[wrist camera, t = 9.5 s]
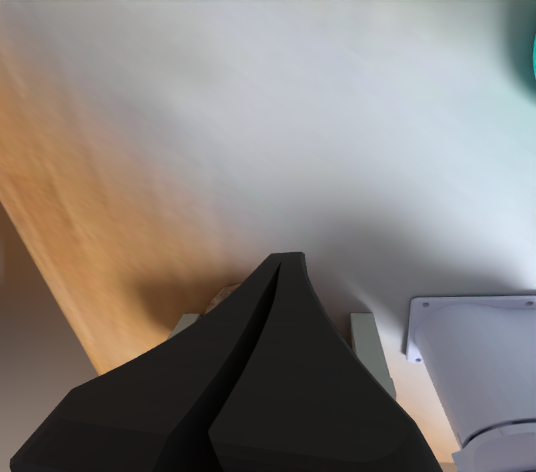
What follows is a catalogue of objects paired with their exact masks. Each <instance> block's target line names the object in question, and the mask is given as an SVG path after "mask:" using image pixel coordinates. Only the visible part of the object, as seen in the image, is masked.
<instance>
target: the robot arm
mask: <svg viewBox="0 0 536 472" xmlns="http://www.w3.org/2000/svg"><path fill="white" fill-rule="evenodd" d="M423 303H426V304H423ZM406 359H407V361H408V362H410V363H424V364H425V366H426V369H427V371H428V373H429V376H430V378H431V380H432V383H433V385H434V388H435V390H436V392H437V395H438V397H439V399H440V402H441V404H442V407H443V409H444V411H445V414H446V416H447V418H448V421H449V423H450V426H451V428H452V430H453V433H454V435H455V437H456V440H457V442H458V445H459V447H460V449H461V450H460V451H458V452H455V453H452V454H451V455H452V458H453V460H454V463H455V465H456V468H457V470H458V472H536V296H482V297H423V298H414V299H413V300H412V301H411V307H410V318H409V328H408V339H407V350H406ZM10 469H11V472H443V471H442V469H441V467H440V465H439V463H438V461H437V459H436V458H435V456H434V454H433V452H432V450H431V448H430V447H429V445H428V443H427V441H426V440H425V438H424V436H423V434H422V433H421V431H420V429H419V427H418V426H417V424H416V423H415V421H414V420H413V419H412V418H411V417H410V416H409V415H408V414H407V413H406V412H405V410H404V409H403V408H402V407H401V406H400V405H399V404H398V403H397V402H396V401H395V400H394V399H393V398H392V397H391V395H390V394H389V393H388V392H387V391H386V390H385V389H384V388H383V387H382V386H381V384H380V383H379V382H378V381H377V380H376V379H375V378H374V376H373V375H372V374H371V373H370V372H369V370H368V369H367V368H366V367H365V366H364V365H363V363H362V362H361V361H360V360H359V358H358V357H357V356H356V355H355V353H354V352H353V351H352V349H351V348H350V347H349V345H348V344H347V343H346V341H345V340H344V339H343V338H342V336H341V335H340V333H339V332H338V331H337V329H336V328H335V326H334V325H333V323H332V322H331V320H330V318H329V317H328V315H327V314H326V312H325V310H324V309H323V307H322V305H321V303H320V301H319V299H318V297H317V295H316V293H315V291H314V289H313V287H312V285H311V282H310V280H309V277H308V274H307V268H306V260H305V254H304V253H302V252H289V253H274V254H270V255H269V256H268V257H267V258H266V259H265V260H264V261H263V262H262V263H261V265H260V266H259V267H258V268H257V269H256V270H255V271H254V272H253V273H252V274H251V275H250V276H249V277H248V278H247V279H246V280H245V281H244V282H243V283H242V284H241V285H240V286H239V287H237V288H236V289H235V290H234V291H233V292H232V293H231V294H230V295H229V296H228V297H227V298H225V299H224V300H223V301H222V302H221V303H219V304H218V305H217V306H216V307H215V308H213V309H212V310H211V311H209V312H208V313H207V314H205V315H204V316H203V317H201V318H200V319H199V320H197V321H196V322H194V323H193V324H191V325H190V326H188V327H187V328H185V329H184V330H182V331H180V332H179V333H177V334H176V335H174V336H173V337H171V338H170V339H168V340H166V341H165V342H163V343H161V344H160V345H158V346H156V347H155V348H153V349H151V350H149V351H147V352H146V353H144V354H142V355H140V356H138V357H137V358H135V359H133V360H131V361H129V362H127V363H125V364H123V365H121V366H119V367H117V368H115V369H113V370H111V371H109V372H107V373H105V374H103V375H101V376H99V377H97V378H95V379H92V380H90V381H88V382H86V383H84V384H82V385H80V386H78V387H75V388H73V389H72V390H71V391H70V392H69V393H68V394H67V395H66V396H65V398H64V399H63V400H62V401H61V402H60V403H59V404H58V406H57V407H56V408H55V409H54V410H53V411H52V412H51V414H50V415H49V416H48V417H47V418H46V419H45V420H44V422H43V423H42V424H41V425H40V426H39V427H38V429H37V430H36V431H35V432H34V433H33V434H32V435H31V437H30V438H29V439H28V440H27V441H26V442H25V444H24V445H23V446H22V447H21V448H20V449H19V450H18V451H17V453H16V454H15V455H14V456H13V457H12V458H11V459H10Z"/></svg>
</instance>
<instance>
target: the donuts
mask: <svg viewBox="0 0 536 472" xmlns="http://www.w3.org/2000/svg"><path fill="white" fill-rule="evenodd" d="M533 68H534V74H535V78H536V35H535V41H534V48H533Z"/></svg>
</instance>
